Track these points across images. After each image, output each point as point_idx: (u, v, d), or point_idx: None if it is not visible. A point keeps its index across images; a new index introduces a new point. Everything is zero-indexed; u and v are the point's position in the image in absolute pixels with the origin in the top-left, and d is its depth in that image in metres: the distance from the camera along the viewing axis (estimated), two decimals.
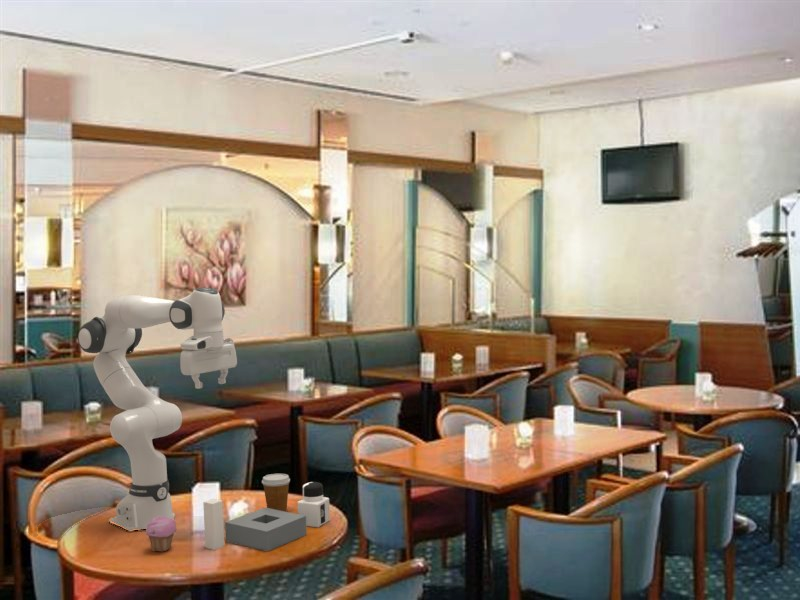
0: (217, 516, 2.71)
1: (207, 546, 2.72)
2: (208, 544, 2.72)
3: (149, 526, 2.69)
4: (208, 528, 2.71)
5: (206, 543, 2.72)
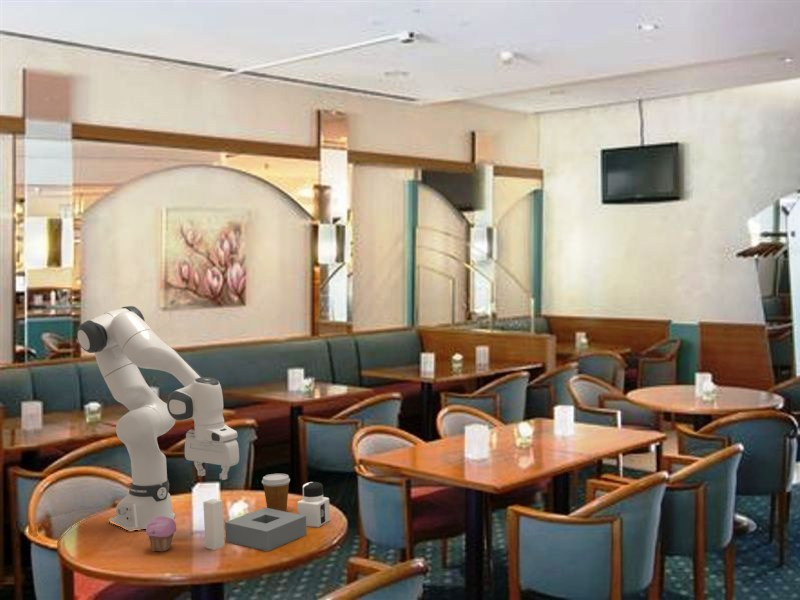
0: (217, 516, 2.71)
1: (207, 546, 2.72)
2: (208, 544, 2.72)
3: (149, 526, 2.69)
4: (208, 528, 2.71)
5: (206, 543, 2.72)
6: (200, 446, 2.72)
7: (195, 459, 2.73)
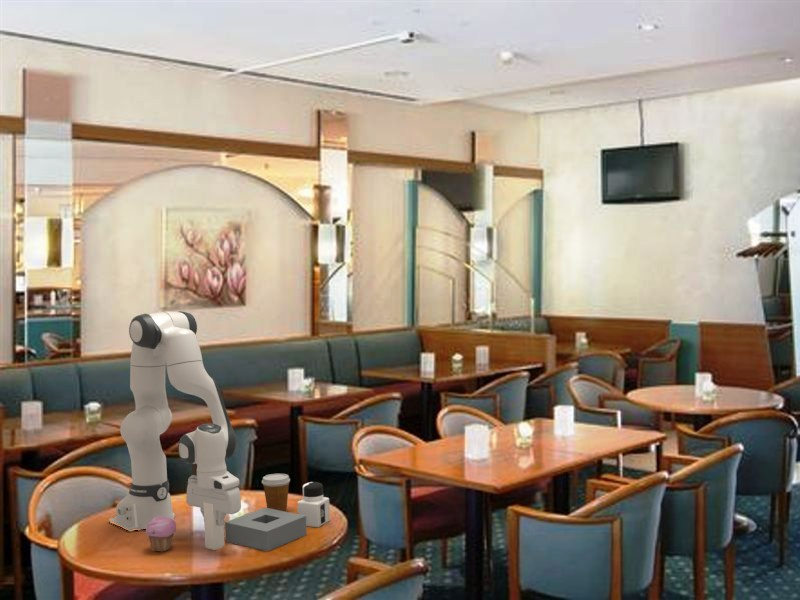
0: (217, 516, 2.71)
1: (207, 546, 2.72)
2: (208, 544, 2.72)
3: (149, 526, 2.69)
4: (208, 528, 2.71)
5: (206, 543, 2.72)
6: (202, 492, 2.73)
7: (197, 505, 2.74)
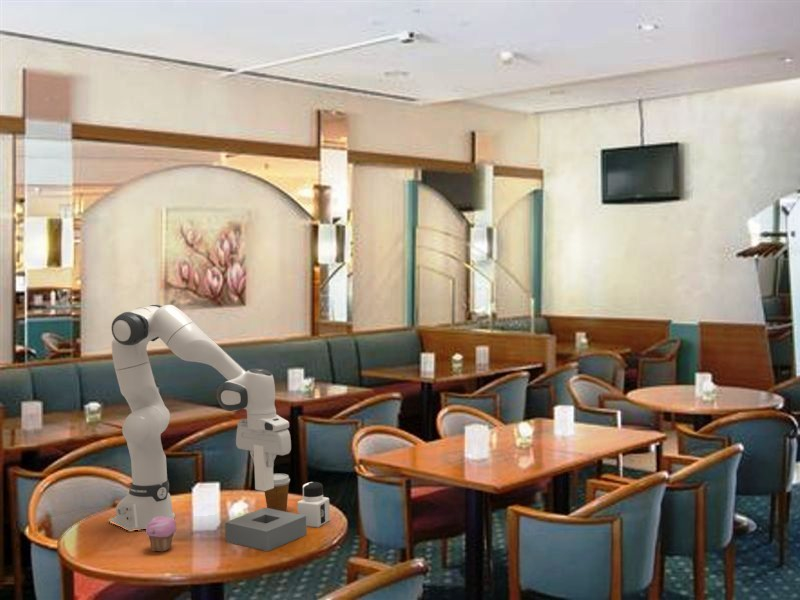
0: (267, 458, 2.77)
1: (257, 488, 2.78)
2: (259, 485, 2.77)
3: (149, 526, 2.69)
4: (258, 470, 2.77)
5: (256, 485, 2.78)
6: (252, 435, 2.78)
7: (247, 448, 2.80)
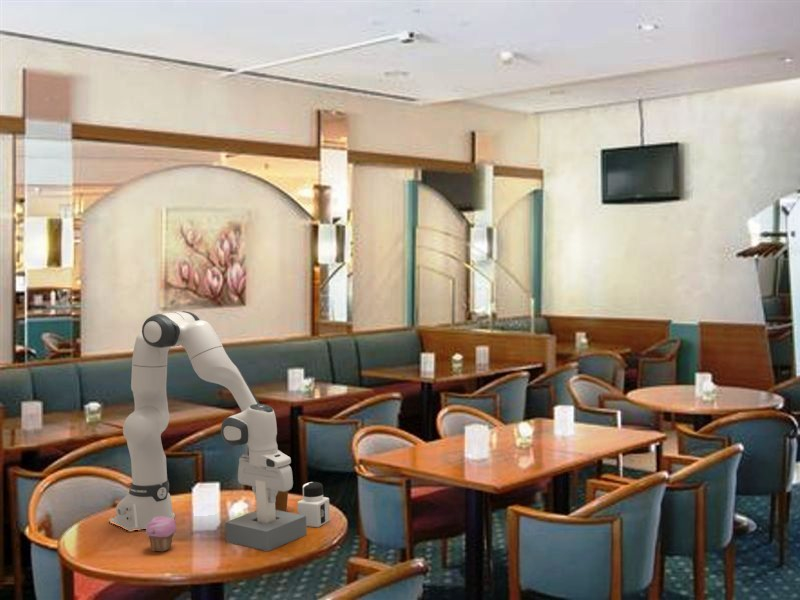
0: (269, 494, 2.78)
1: None
2: (261, 521, 2.78)
3: (149, 526, 2.69)
4: (260, 505, 2.78)
5: (258, 520, 2.79)
6: (254, 471, 2.79)
7: (248, 483, 2.80)
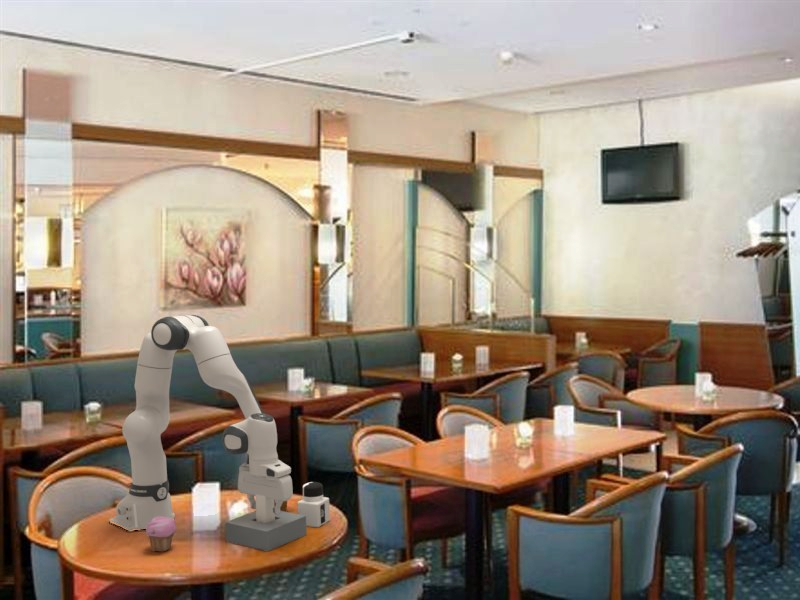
0: (269, 508, 2.78)
1: None
2: None
3: (149, 526, 2.69)
4: (260, 519, 2.78)
5: None
6: (254, 480, 2.79)
7: (248, 492, 2.81)
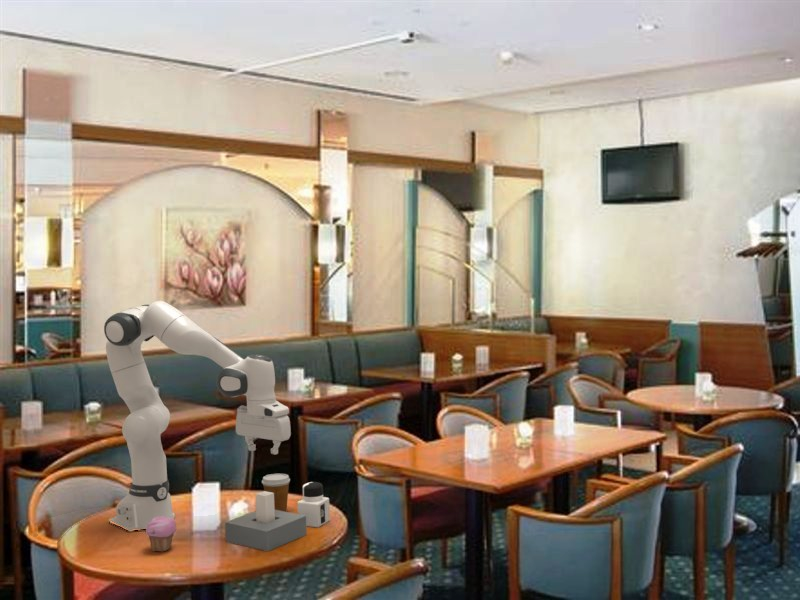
0: (269, 508, 2.78)
1: None
2: None
3: (149, 526, 2.69)
4: (260, 519, 2.78)
5: None
6: (252, 421, 2.78)
7: (246, 434, 2.79)
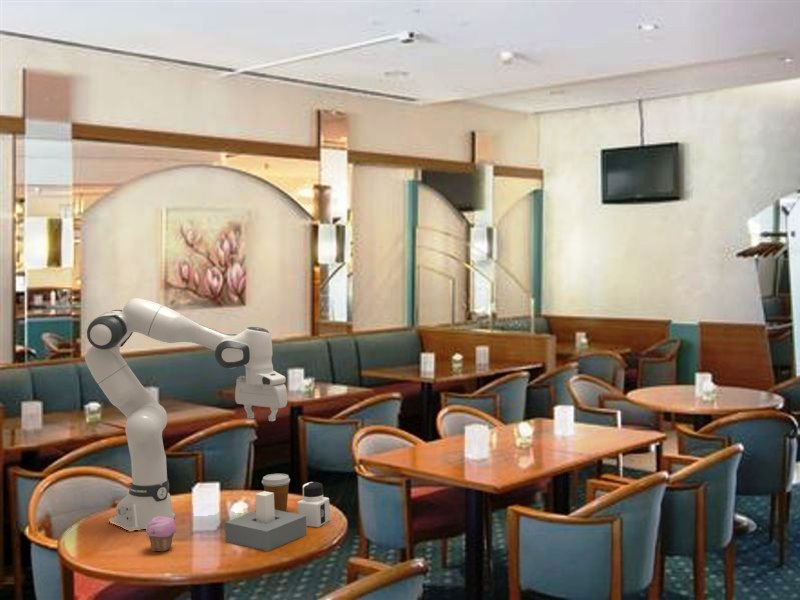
0: (269, 508, 2.78)
1: None
2: None
3: (149, 526, 2.69)
4: (260, 519, 2.78)
5: None
6: (250, 390, 2.93)
7: (245, 402, 2.94)
